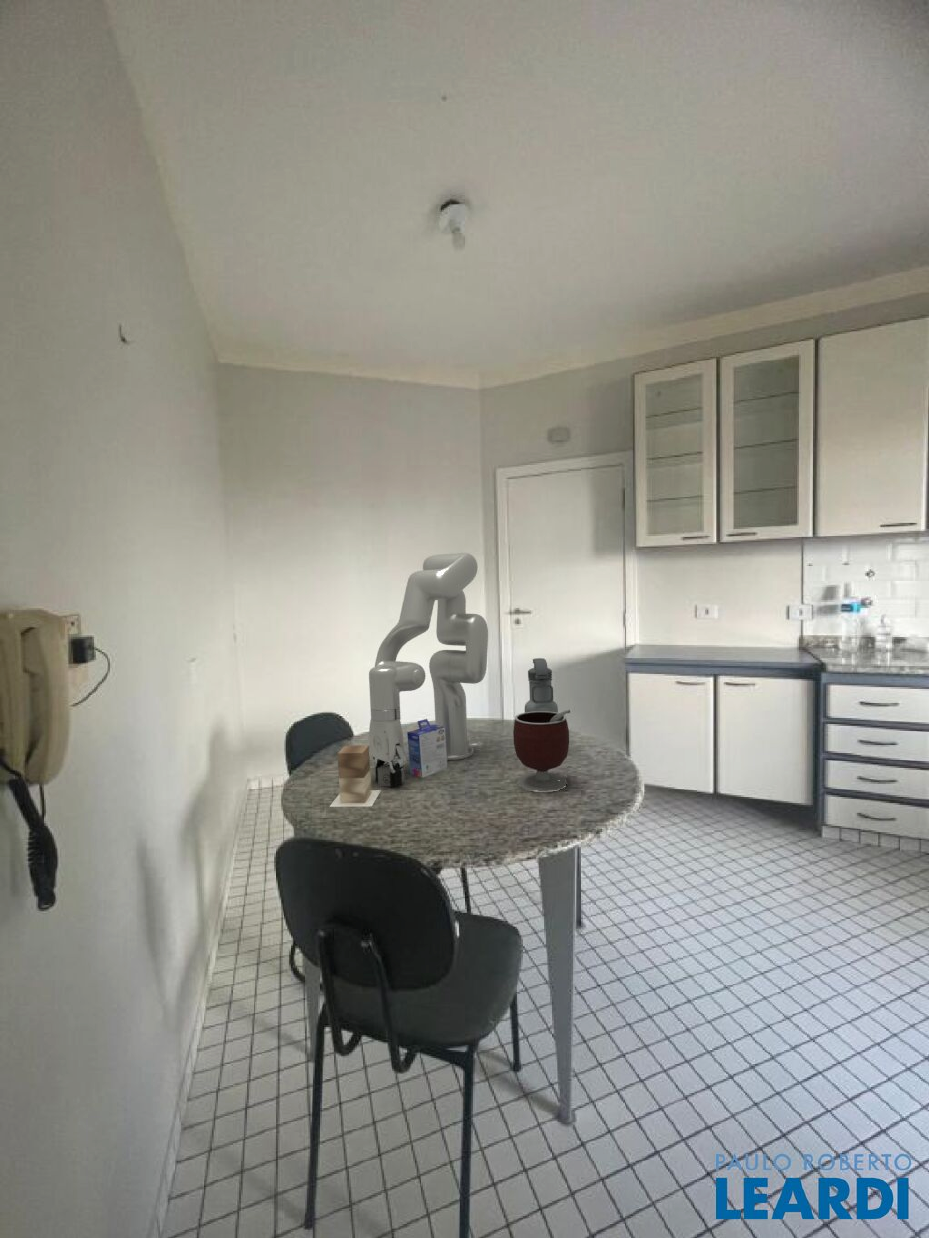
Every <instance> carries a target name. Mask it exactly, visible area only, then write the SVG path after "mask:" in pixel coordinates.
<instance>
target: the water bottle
mask: <svg viewBox="0 0 929 1238" xmlns="http://www.w3.org/2000/svg"><path fill="white" fill-rule="evenodd" d="M532 664H533V668H530V669H528V670H527V678H528V679H527V681H528V682H529V683H528V684H529V686H528V688H529V689H528V690H529V700H528V701H527V702H526V703H524V713H526V712H534V711H549V712H557V713H559V707H558V703H557V702H556V701H554V687H553V685H552V681H553V670H552V669H551V668H549V667H548V662H547V660H546V659H545V658H544V657H543V658H541V657H540V658H539V657H538V658H532Z"/></svg>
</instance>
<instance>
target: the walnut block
mask: <svg viewBox="0 0 929 1238" xmlns="http://www.w3.org/2000/svg"><path fill="white" fill-rule="evenodd" d="M337 766H338V767H337V768H338V779H339V778H364V777H365V776H366V774H367V773H368V772H369V770H370V771H371V761H370V753H369V744H368V745H344V746H343V747H342V748H341V749H340V751H338V752H337Z"/></svg>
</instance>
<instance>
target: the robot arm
mask: <svg viewBox="0 0 929 1238" xmlns="http://www.w3.org/2000/svg"><path fill="white" fill-rule="evenodd" d="M422 563H423V564H422V569H421V570H417V571H414V572H412V573H411V574H410V575H409V577H408V579H407V582H406V587H405V592H404V596H403V601H402V605H401V610H400V614H399V619H398V622H397V623H396V624H395V626H394V627H393V628H392V629H391V630H390V631H389V632H388V634H386V637H385V638H383V640H382V642H381V643H380V645H379V648H378V650H377V654H376V658H375V661H374V662H375V663H374V667H372V668H370V670H369V671H368V672H369V673H368V681H369V684H368V685H369V703H370V706H369V707H370V721H369V728H368V729H369V730H368V732H369V733H368V745H369V756H371V757H372V758H373V765H374V766H375V767H374V768H375V769H374V771H375V782H378V768H379V767H381V766H382V765H384V764H385V763H387V762H389V764H390V768H391V772H390V787H389V788H391V789H394V788H398V787H400V786H402V785H403V782H402V773H401V771H402V770H403V766H404V767H405V764H406V763H407V758H406V755H405V747H404V745H405V744H404V743H405V742H404V734H403V728H402V721H401V700H400V699H401V698H400V697H401V696H400V693H401V692H411V691H415V690H417V689H418V690H419V689H420V688H421V687H422V686H423V685H424V683H425V680H426V671H425V669H424V667H422V666H421V665H420V664H419V663H416V662H413V661H412V662H411V661H401V660H400V661H399V660H398V661H397V658H398V654H399V653H400V651H401V650H402V648H403V647H404V646H405V645H406V644H408V642H409V641H411V640H413V639H415V638H417V637H418V636H421V635H423V634H425V633H426V632H427V631H428V630H429V628H430V625H431V621H432V620H431V618H432V615H433V610H434V605H435V601H437V611H436V612H437V614H436V631H435V632H436V639H437V641H438V642H439V643H440V644H442V645H446V646H455V647H456V646H460V647H463V646H464V647H465V650H463V649H462V650H460V649H442V650H439V651H435V653H434V652H433V654H432V655H431V657H430V658H429V661H428V662H429V663H428V664H429V665H428V667H429V673H430V677H431V681H432V688H433V698H434V699H433V700H434V702H433V703H434V722H435V724H434V725H438V726H443V727H445V738H446V754H447V761H457V760H463V759H466V758H467V759H468V758H469V757H472V756H473V754H474V749H477V750H478V749H480V750H481V749H482V750H483V747H484V744H483V741H480V740H471V739H470V735H468V717H467V714H468V713H467V696H466V692H465V689H464V687H463V686H462V684H470V685H471V684H474V685H475V684H479V683H480V682H482V681H483V680H484V678H485V677H486V673H487V667H488V651H489V650H488V648H489V646H488V645H489V628H488V624H487V622H486V620H485V618H484V617H483V616H482V615H480V614H478V613H466V611H467V610H466V608H467V605H466V603H467V602H466V601H467V600H466V599H467V597H466V595H465V592H464V589H465V588H466V587H467V586H468V585H469V584H471V583H472V582H473V580H474V579H475V578H476V576H477V574H478V573H477V572H478V562H477V560H476V557H475V556H474V555H473V554H471V553H469V552H456V553H441V554H435V555H430V556H428V557H426V558H425V559H424V560H423V562H422ZM394 763H396V765H395V766H394Z"/></svg>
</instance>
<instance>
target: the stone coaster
mask: <svg viewBox="0 0 929 1238" xmlns="http://www.w3.org/2000/svg"><path fill="white" fill-rule="evenodd" d="M381 791H382V790H381V789H371V795H370V796H369V798H368V799H367V801H366V803H340V793H339V794H338V795H337V796H336V798H335V799H333V802H332V803H331V804H330V805H329V807H330V808H348V807H349V808H351V807H359V808H360V807H372V806H374V803H375V802H376V799H377V798H378V797H379V795H380V793H381Z"/></svg>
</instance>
